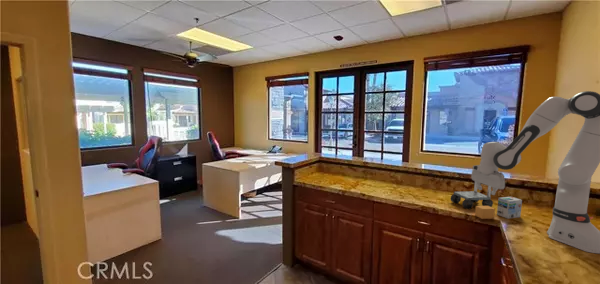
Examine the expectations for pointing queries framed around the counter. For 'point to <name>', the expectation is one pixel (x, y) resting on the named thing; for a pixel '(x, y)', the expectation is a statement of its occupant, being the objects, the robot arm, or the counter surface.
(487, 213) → the block
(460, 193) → the trolley
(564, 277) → the counter surface
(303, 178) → the counter surface
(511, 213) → the light bulb box
